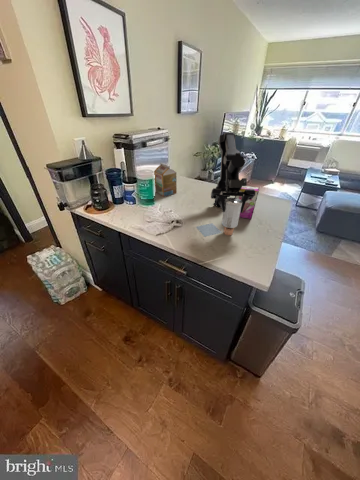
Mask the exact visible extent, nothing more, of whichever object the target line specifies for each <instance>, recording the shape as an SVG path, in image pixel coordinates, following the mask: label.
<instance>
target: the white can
mask: <svg viewBox="0 0 360 480" xmlns="http://www.w3.org/2000/svg"><path fill="white" fill-rule="evenodd" d="M241 206H242V200H240V199H238V198H235V197H227V199H226V200H225V205H224V212H223V211H222V220H221V225H222V226H223V227H228V228H234V229H235V228H237V227H238V225H239V219H240V217H239V216H240V211H241Z"/></svg>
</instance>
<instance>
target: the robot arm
mask: <svg viewBox="0 0 360 480" xmlns="http://www.w3.org/2000/svg"><path fill="white" fill-rule="evenodd" d="M217 144H218V150H219V151H220V154H221V157H220V175H219V176H220V177H219V180H218V182H217V184H216V187H215V188H212V189H211V192H210V199H213V200H214V202H213V205H215V206H216V207H217V208H218V209H219V208H220V209H221V212H222V213H223V212H224V205H225V200H226V199H227V198H231V197H235V196H242V199H241V200H242V206H241V211H240V212H241V213H242V211H243V208H244V205H245V203H246V201H248V200H250V199H252V198H253V197H254V196H255V190H254V189H246V190H245V191H244V192H239V190H241V188H242V186H247V184H248V181H247V180H248V179H247V177H242V178H240V173H241V171H242V169H243V168H244V166H245V163H246V159H245V158H244V156H243V155H241V152H240V151H239V150H238V149H237V145H236V135H235V132H229V131H227V132H224V133H223V134H221V135H219V137H218V141H217Z"/></svg>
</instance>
